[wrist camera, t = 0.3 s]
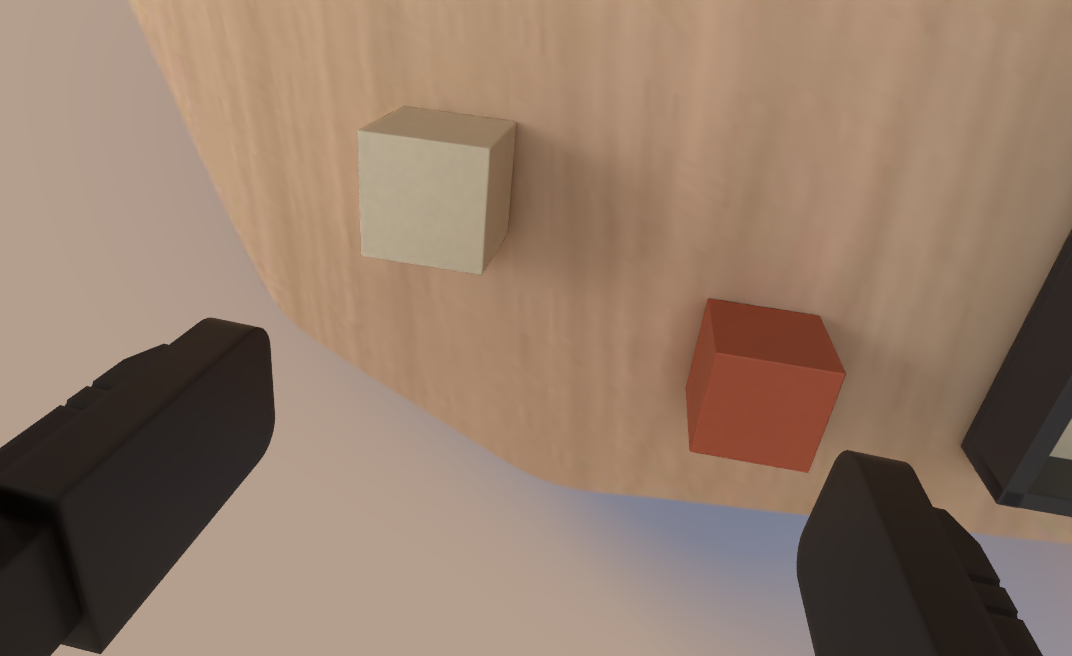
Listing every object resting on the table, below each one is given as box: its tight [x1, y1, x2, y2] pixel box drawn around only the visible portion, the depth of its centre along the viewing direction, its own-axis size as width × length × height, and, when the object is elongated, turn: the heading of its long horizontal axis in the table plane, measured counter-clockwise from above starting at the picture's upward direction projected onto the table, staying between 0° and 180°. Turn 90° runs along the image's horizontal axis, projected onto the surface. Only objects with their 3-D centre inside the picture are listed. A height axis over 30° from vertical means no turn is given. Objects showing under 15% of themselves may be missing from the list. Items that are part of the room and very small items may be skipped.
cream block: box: [357, 106, 516, 275], centre depth 25 cm, size 4×4×4 cm
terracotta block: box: [686, 299, 846, 472], centre depth 26 cm, size 4×4×4 cm
